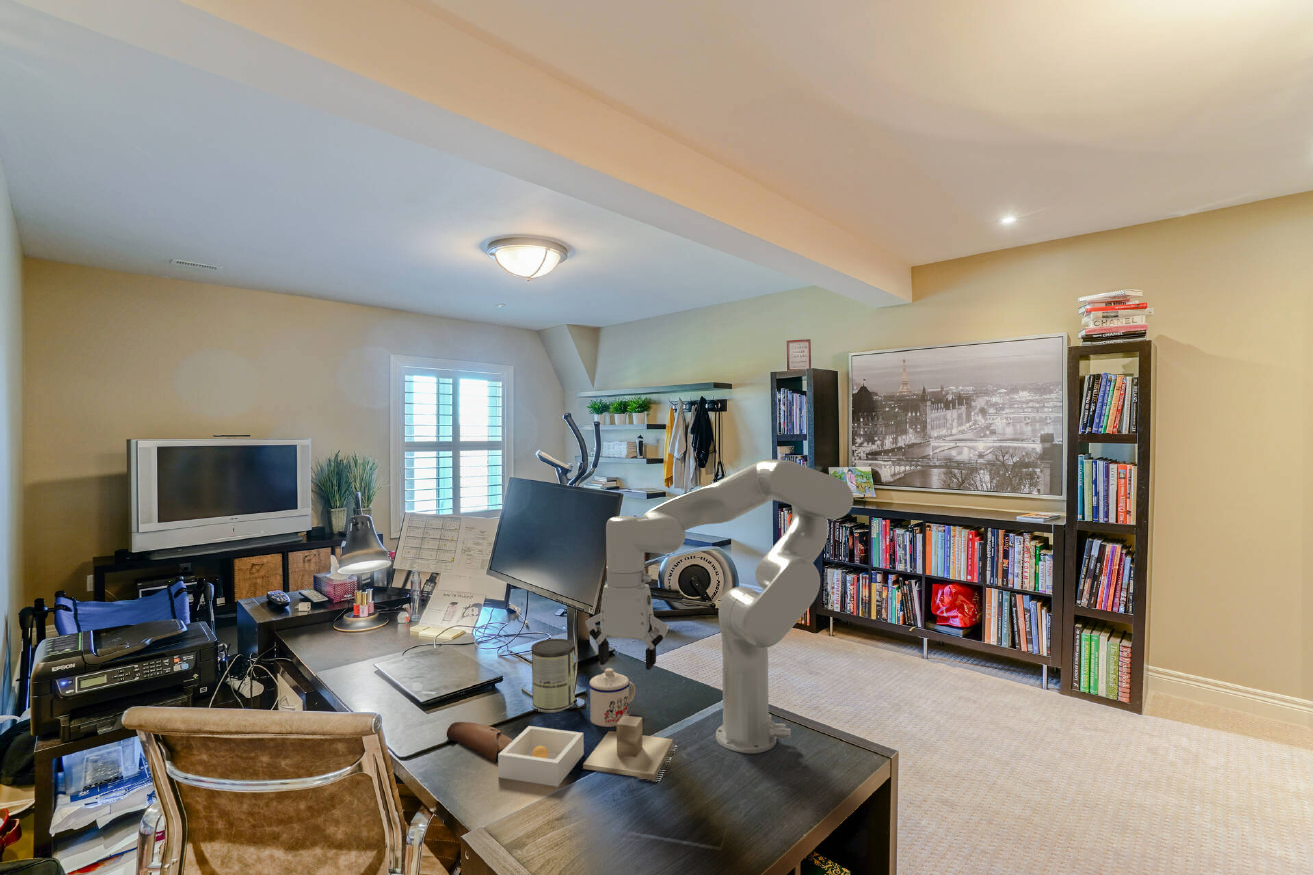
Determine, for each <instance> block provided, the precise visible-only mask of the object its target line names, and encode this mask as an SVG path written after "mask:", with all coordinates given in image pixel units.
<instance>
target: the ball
mask: <svg viewBox="0 0 1313 875" xmlns="http://www.w3.org/2000/svg"><path fill="white" fill-rule="evenodd" d="M532 756H533V757H540V758H547V756H548V751H547V749H546V748H545V747H544V746H537V747H536V748H535V749H534V750H533V753H532Z"/></svg>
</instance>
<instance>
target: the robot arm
mask: <svg viewBox="0 0 1313 875" xmlns="http://www.w3.org/2000/svg"><path fill="white" fill-rule="evenodd" d="M771 501H777V502H781V503H782V502H783V503H785V504H788V505H791V509H792V510H791V512H792V514H791V515H792V516H791V517H792V518H791V520H790V524H789V526H788V527H787V529H786V531H785V532H784V533H783V534H782V535H781V537H780V538H779V539H778V540H777V541H776V543H775V544H774V545H773V546H772V547H771V549H769V551H768V552H767V553H766V554H765V555H764V556H763V558H761V560H760V561H759V562H758V563H757V566H756V568H755V571H754V572H755V573H754V576H755V580H756V582H757V584H758V586H759V587H760V588H761V589H762V590H763V591H762V592H761V593H760V592H759V591H756V590H754V589H752V588H749V587H746V586H736V587H733V588H731V589H729V590H728V591H726V592H725V593H724V594H723V595H722V598H721V599H720V602H719V605H718V621H719V622H718V623H719V629H720V635H721V647H722V649H721V651H722V653H721V654H722V725H720V726H719V727H718V728H717V729H716V731H715V740H716V742H717V743H718V744H719V745H721V747H722V748H723V747H724V748H726V749H727V750H729V751H732V752H736V753H744V754H745V753H746V754H760V753H764V752H767V751H770V750H772V749H773V748H774V747H775V746H776V745H777V738H781V739H787V740H790V739H791V737H792V736H791V734H792V733H791V731H792V730H791V728H787V727H786V726H787V725H786V724H785V723H775V721H772V714H769V651H768V648H771V647H772V646H775V645H777V644H778V643H780V641H781V640H783V639H784V638H785V636H787V635H788V633H789V632H790V631H791V630H792V628H793V627H794V626H795V625H796V624H797V623H798V621H799V620H800V619H801V618H802V617H803V615H804V614H806V611H807V610H809V608H810V607H811V605H812V604H813V603H814V602H815V600H816V598H817V596H818V594H819V592H820V587H821V576H820V573H819V569H818V568H817V567H816V565H815V564H814V562H815V561H816V560H817V558H818V557H819V556H820V554H821V553H822V551H823V549H824V548H825V546H826V543H827V540H828V532H829V530H828V525H829V524H828V520H836V519H841V518H843V517H844V516H847V514H848V513H850V511H851V509H852V507H853V504H854V495H853V491H852V488H851V487H850V486H849V484H848V483H846V482H845V481H844V480H842V479H840V478H838V477H836V476H833V475H830V474H828V473H824V472H821V471H820V470H816V469H814V468H811V467H808V466H806V465H803V464H800V463H797V462H795V461H792V460H787V459H773V458H770V459H768V458H767V459H762V460H760V461H757V462H755V463H753V464H751V465H749V466H747V467H745V468H743V469H741V470H739V471H737V472H735V473H733V474H731V475H729V476H727V477H725V478H723V479H722V478H721V479H720V480H718V481H716V482H714V483H711V484H709V485H707V486H704V487H701V488H698V489H696V490H693V491H691V492H687V493H686V494H683V495H680V496H679V495H678V496H677V497H675V498H672V499H670V500H668V501H666V502H664V503H662V504H660V505H658V506H656V507H653V508H651V509H650V510H648V511H646V512H645V513H643V514H642V515H641V516H640V517H638V516H633V515H620V516H619V515H617V516H612V517H611V518H609V519H608V520H607V521H606V525H605V536H606V538H605V544H606V584H605V585H604V586H603V591H602V594H601V596H602V597H601V602H600V612H599V613H598V614H596V615H594V616H592V617H589V618H588V619H587V620H585V626H586V628H587V630H588V631H589V635H590V636H591V638H592V639H593V640H594V641H595V644H596V645H597V657H598V660H599V666H603V665H605V664H607V662H609V660H610V650H609V649H610V645H609V644H610V642H609V640H608V637H611V638H612V637H613V638H621V639H622V638H623V639H631V640H632V639H633V640H642V641H643V643H644V644H645V645H646V647H647V648H646V649H645V669H646V670H648V671H650V670H651V669H652V668H653V667H654V666H655V665H656V662H657V646H658V645H659V644H660V643H661V642H662V641H663V640H664V639H665V637H666V635H667V632H668V630H669V628H670V626H669V625H668V624H667V623H666V622H664V621H662V620H661V619H659V618H657V617H656V616H654V610H653V608H654V607H653V601H652V594H651V589H650V586H649V584H647V582H651V581H652V574H650V573H647V572H646V569H645V553H649V554H650V553H651V554H663V555H664V554H666V555H667V554H671V553H674V552H676V551H678V550H679V549H680V548H681V547H682V546H683V544H684V542H685V540H686V531H687V530H690V529H693V528H696V527H699V526H700V527H701V526H704V525H712V524H713V525H714V524H715V525H716V524H724V523H728V522H731V521H733V520H736V519H737V518H739V517H741V516H744V515H745V514H747V513H749V512H751V511H753V510H755V509H757V508H759V507H761V506H763V505H765V504H766V503H768V502H771ZM598 622H599V628H600V630H599V629H598V628H597V625H596V623H598ZM654 628H657V630H658V631H659V632H658V633H657V635H656V637H655V635H654V634H653V633H652V632H653V631H654Z"/></svg>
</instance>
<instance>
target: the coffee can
mask: <svg viewBox="0 0 1313 875" xmlns="http://www.w3.org/2000/svg"><path fill="white" fill-rule="evenodd" d="M575 645H576V644H575V642H573V640H570V639H566V638H548V639H543V640H539V641H537V642H535V643H533V644H532V645H531V647H530V648H531V649H530V650H531V671H532V672H531V673H532V676H531V677H532V680H531V681H532V682H531V683H532V686H531V689H532V704H533V706H534V707H535V708H537V709H538V711H537V712H541V713H543V714H544V713H547V714H549V713H550V714H552V713H560V712H563V711H565V710H566V709H569V708H571V707H572V706H573V705H574V704H575V703H574V701H575V702H576V697H575V696H576V694H575V693H576V690H575V689H576V687H575V685H576V684H575V682H576V681H575V647H576V646H575ZM533 706H532V707H533Z"/></svg>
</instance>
